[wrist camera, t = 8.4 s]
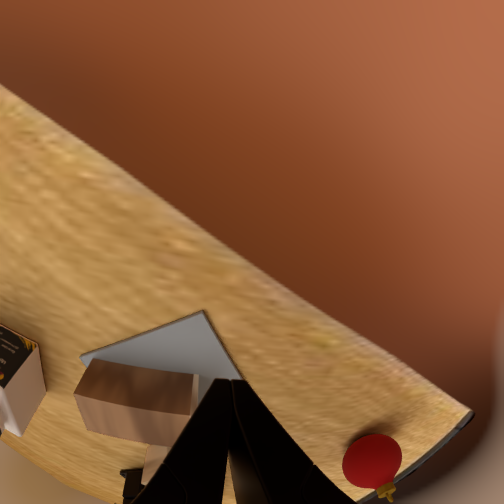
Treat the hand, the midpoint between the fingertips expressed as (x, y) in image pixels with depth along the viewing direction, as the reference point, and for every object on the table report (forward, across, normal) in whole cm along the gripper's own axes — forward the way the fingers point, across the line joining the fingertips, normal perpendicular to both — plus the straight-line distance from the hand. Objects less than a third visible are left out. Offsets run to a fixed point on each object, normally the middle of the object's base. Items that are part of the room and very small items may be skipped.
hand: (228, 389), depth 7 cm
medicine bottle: (+12, +20, +13) cm, 27 cm away
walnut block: (+9, +1, +12) cm, 15 cm away
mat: (+12, +2, +14) cm, 19 cm away
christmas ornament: (+12, -18, +22) cm, 31 cm away
